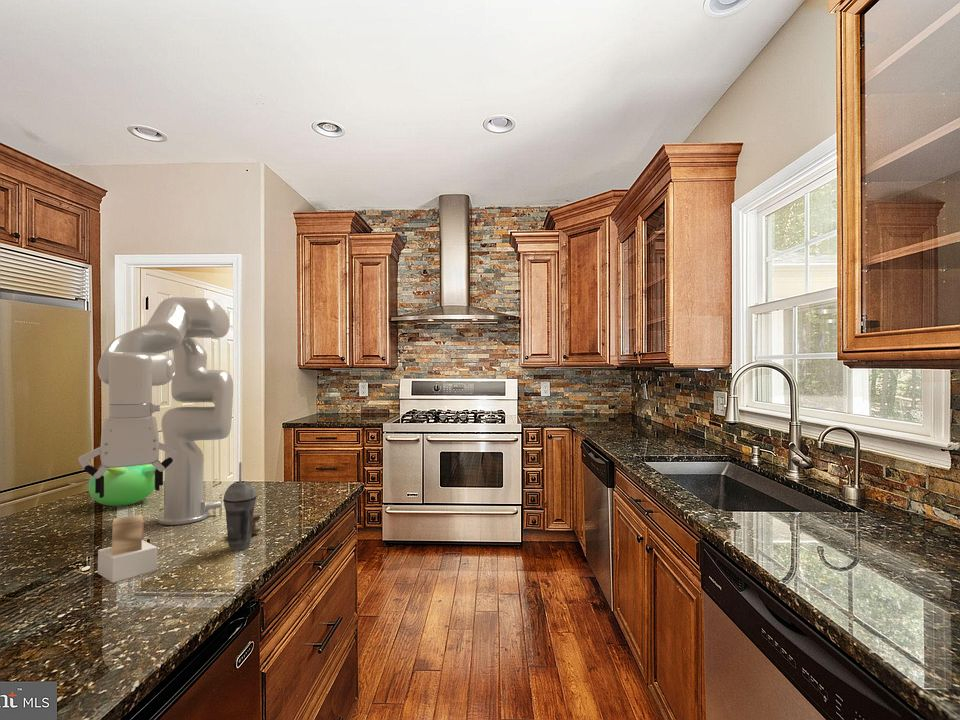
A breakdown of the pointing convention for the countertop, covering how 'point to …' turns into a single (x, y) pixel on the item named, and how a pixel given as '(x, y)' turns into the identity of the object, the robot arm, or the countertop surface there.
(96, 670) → the countertop surface
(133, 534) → the oak block
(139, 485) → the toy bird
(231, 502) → the beverage cup
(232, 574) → the countertop surface
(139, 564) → the white block
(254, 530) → the mushroom
